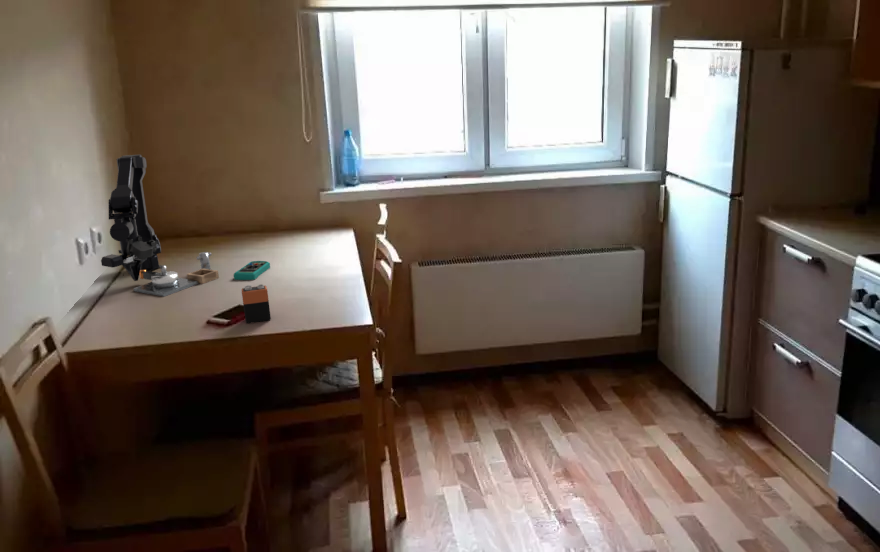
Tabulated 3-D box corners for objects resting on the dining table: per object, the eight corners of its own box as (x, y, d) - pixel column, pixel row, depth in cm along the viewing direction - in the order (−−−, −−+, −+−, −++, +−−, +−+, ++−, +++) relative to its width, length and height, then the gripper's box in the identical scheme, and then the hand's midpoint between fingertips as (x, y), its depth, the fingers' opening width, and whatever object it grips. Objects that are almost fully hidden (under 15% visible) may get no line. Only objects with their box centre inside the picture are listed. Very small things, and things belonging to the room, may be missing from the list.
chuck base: (133, 291, 248) (133, 288, 248) (168, 278, 259) (168, 276, 259) (163, 296, 241) (163, 293, 241) (198, 283, 252) (197, 280, 252)
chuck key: (196, 275, 262) (193, 255, 260) (210, 270, 267) (207, 250, 265) (202, 276, 261) (199, 256, 259) (216, 271, 266) (213, 251, 264)
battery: (245, 319, 217) (240, 285, 215) (269, 315, 219) (265, 281, 216) (245, 324, 213) (241, 289, 211) (271, 320, 215) (266, 286, 212)
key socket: (187, 281, 256) (186, 274, 255) (204, 275, 261) (203, 268, 260) (202, 283, 252) (201, 276, 251) (218, 277, 258) (217, 270, 257)
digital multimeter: (271, 268, 267) (270, 260, 267) (254, 281, 253) (253, 272, 253) (251, 268, 269) (250, 260, 268) (233, 281, 255) (232, 272, 254)
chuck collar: (184, 281, 251) (181, 264, 249) (164, 289, 245) (161, 270, 243) (151, 276, 259) (148, 259, 257) (131, 283, 252) (128, 265, 251)
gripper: (119, 243, 234) (128, 292, 239) (168, 229, 250) (176, 275, 254) (96, 239, 240) (104, 287, 245) (145, 226, 255) (153, 271, 260)
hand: (136, 280), depth 251 cm, fingers closed
